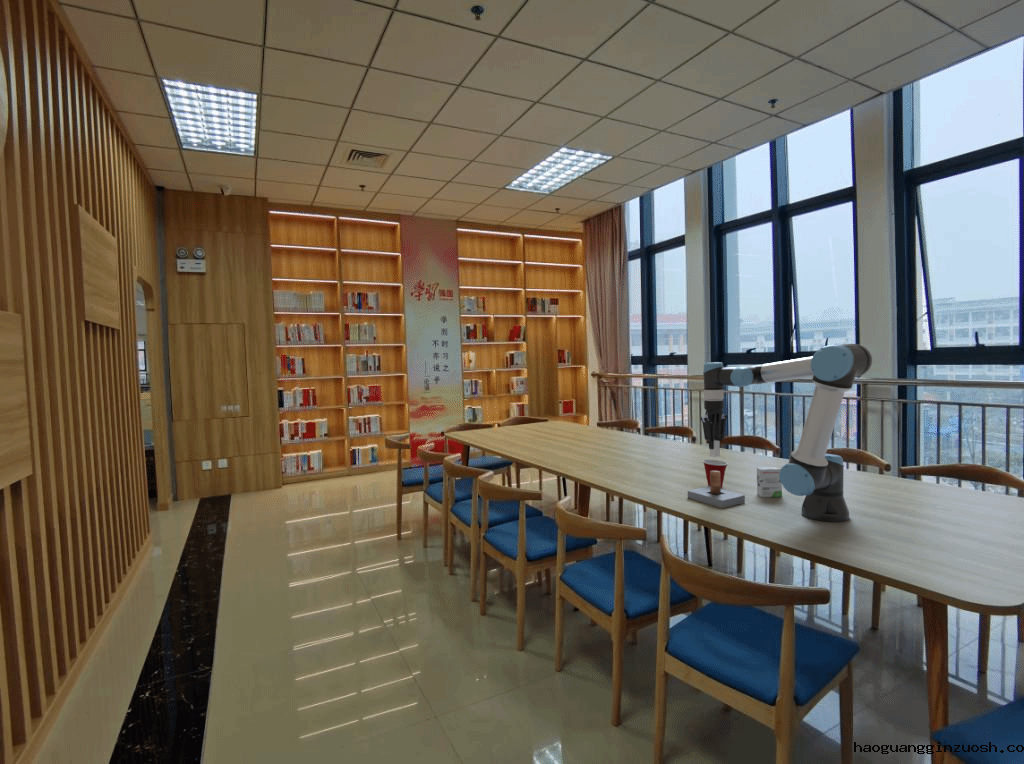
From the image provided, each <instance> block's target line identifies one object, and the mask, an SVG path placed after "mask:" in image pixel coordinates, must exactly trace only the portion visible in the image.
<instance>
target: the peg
mask: <svg viewBox="0 0 1024 764" xmlns="http://www.w3.org/2000/svg"><path fill="white" fill-rule="evenodd" d="M721 489H722V488H721V484H720V471H710V494H712V495H716V496H717V495H721Z"/></svg>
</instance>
